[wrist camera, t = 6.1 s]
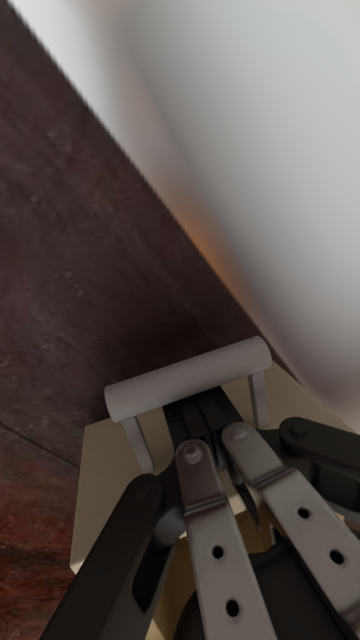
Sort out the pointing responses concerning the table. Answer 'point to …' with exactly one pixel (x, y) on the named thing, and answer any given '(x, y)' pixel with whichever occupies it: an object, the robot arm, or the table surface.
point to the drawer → (157, 449)
